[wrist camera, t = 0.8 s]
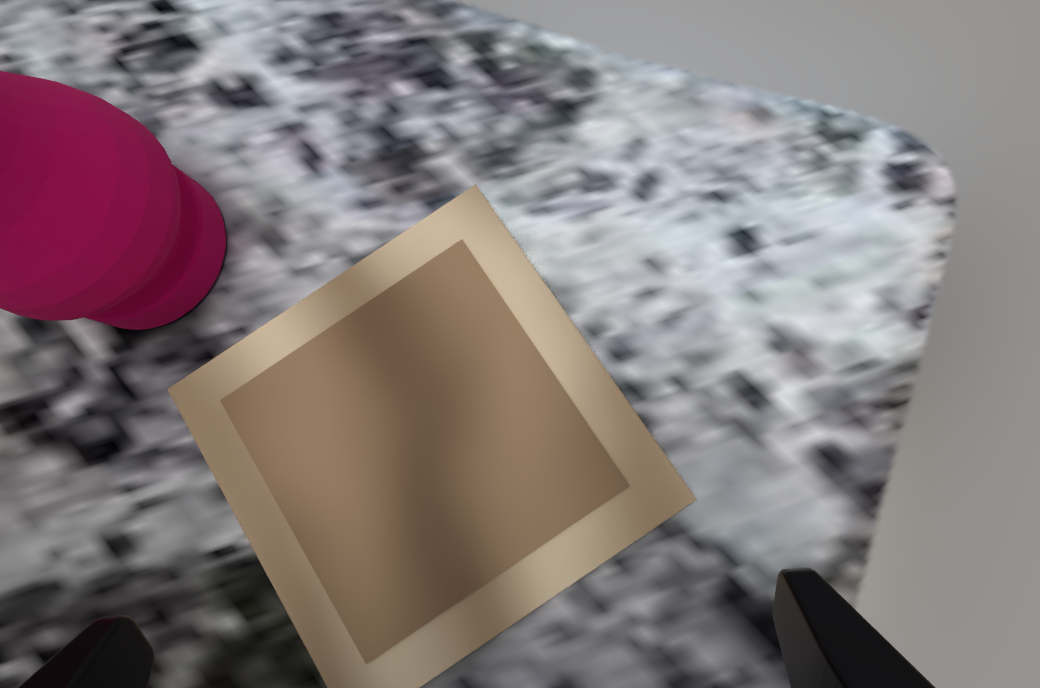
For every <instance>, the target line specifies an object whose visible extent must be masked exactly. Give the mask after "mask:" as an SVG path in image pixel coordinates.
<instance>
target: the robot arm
mask: <svg viewBox="0 0 1040 688" xmlns="http://www.w3.org/2000/svg"><path fill="white" fill-rule="evenodd" d="M773 618H774V624H775V628H776V632H777V635H778V639H779V643H780V647H781V651H782V655H783V658H784V662H785V666H786V670H787V674H788V678H789V681H790V685H791V688H935V687H934V686H933V685H932V684H931V683H930V682H929V681H928V680H927V679H926V678H925V677H924V676H923V675H922V674H921V673H920V672H919V671H918V670H917V669H916V668H915V667H914V666H913V665H911V664H910V663H909V662H908V661H907V660H906V659H905V658H904V657H903V656H902V655H901V654H900V653H899V652H898V651H897V650H896V649H895V648H894V647H893V646H892V645H891V644H890V643H889V642H888V641H887V640H886V639H885V638H884V637H883V636H882V635H880V633H879V632H878V631H877V630H876V629H874V628H873V627H872V626H871V625H870V624H869V623H868V622H867V621H866V620H865V619H864V618H863V617H862V616H861V615H860V614H859V613H858V612H857V611H856V610H855V609H854V608H853V607H852V606H851V605H850V604H849V603H848V602H847V601H846V600H845V599H844V598H843V597H842V596H841V595H840V594H838V593H837V592H836V591H835V590H834V589H833V588H832V587H831V586H830V585H829V584H828V583H827V582H826V581H825V580H824V579H823V578H822V577H821V576H820V575H819V574H818V573H817V572H816V571H814V570H812V569H810V568H793V569H783V570H781V571H780V573H779V575H778V579H777V585H776V591H775V597H774V603H773ZM153 664H154V652H153V648H152V646H151V645H150V643H149V642H148V640H147V639H146V637H145V636H144V634H143V633H142V632H141V630H140V629H139V627H138V626H137V624H136V623H135V621H134V620H133V619H132V618H131V617H129V616H109V617H102V618H99V619H97V620H95V621H93V622H92V623H91V624H90V625H88V626H87V627H86V628H85V629H84V630H83V631H82V632H81V633H79V634H78V635H77V636H76V637H75V638H74V639H73V640H71V641H70V642H69V643H68V644H67V645H66V646H65V647H64V648H62V649H61V650H60V651H59V652H58V653H57V654H56V655H55V656H53V657H52V658H51V659H50V660H49V661H48V662H47V663H46V664H44V665H43V666H42V667H41V668H40V669H39V670H38V671H37V672H35V673H34V674H33V675H32V676H31V677H30V678H29V679H28V680H26V681H25V682H24V683H23V684H22V685H21V686H20V687H18V688H148V684H149V680H150V677H151V673H152V669H153Z"/></svg>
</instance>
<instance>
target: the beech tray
mask: <svg viewBox="0 0 1040 688" xmlns="http://www.w3.org/2000/svg"><path fill="white" fill-rule="evenodd" d="M168 391H169V393H170V395H171V397H172V399H173V400H174V402H175V404H176V406H177V408H178V410H179V412H180V413H181V415H182V417H183V419H184V421H185V423H186V425H187V426H188V428H189V430H190V432H191V434H192V436H193V438H194V440H195V441H196V443H197V445H198V447H199V449H200V451H201V453H202V454H203V456H204V458H205V460H206V462H207V464H208V466H209V467H210V469H211V471H212V473H213V475H214V477H215V479H216V481H217V482H218V484H219V486H220V488H221V490H222V492H223V494H224V495H225V497H226V499H227V501H228V503H229V505H230V507H231V509H232V510H233V512H234V514H235V516H236V518H237V520H238V522H239V523H240V525H241V527H242V529H243V531H244V533H245V535H246V536H247V538H248V540H249V542H250V544H251V546H252V548H253V550H254V551H255V553H256V555H257V557H258V559H259V561H260V563H261V564H262V566H263V568H264V570H265V572H266V574H267V576H268V577H269V579H270V581H271V583H272V585H273V587H274V589H275V591H276V592H277V594H278V596H279V598H280V600H281V602H282V604H283V605H284V607H285V609H286V611H287V613H288V615H289V617H290V619H291V620H292V622H293V624H294V626H295V628H296V630H297V632H298V633H299V635H300V637H301V639H302V641H303V643H304V645H305V646H306V648H307V650H308V652H309V654H310V656H311V658H312V660H313V661H314V663H315V665H316V667H317V669H318V671H319V673H320V674H321V676H322V678H323V680H324V682H325V684H326V686H327V687H328V688H420V687H421V686H423V685H424V684H426V683H427V682H429V681H430V680H432V679H433V678H435V677H436V676H438V675H439V674H440V673H442V672H443V671H445V670H446V669H448V668H449V667H451V666H452V665H454V664H455V663H457V662H458V661H460V660H461V659H463V658H464V657H465V656H467V655H468V654H470V653H471V652H473V651H474V650H476V649H477V648H479V647H480V646H482V645H483V644H485V643H486V642H488V641H489V640H491V639H492V638H493V637H495V636H496V635H498V634H499V633H501V632H502V631H504V630H505V629H507V628H508V627H510V626H511V625H513V624H514V623H516V622H517V621H518V620H520V619H521V618H523V617H524V616H526V615H527V614H529V613H530V612H532V611H533V610H535V609H536V608H538V607H539V606H541V605H542V604H544V603H545V602H546V601H548V600H549V599H551V598H552V597H554V596H555V595H557V594H558V593H560V592H561V591H563V590H564V589H566V588H567V587H569V586H570V585H571V584H573V583H574V582H576V581H577V580H579V579H580V578H582V577H583V576H585V575H586V574H588V573H589V572H591V571H592V570H594V569H595V568H597V567H598V566H599V565H601V564H602V563H604V562H605V561H607V560H608V559H610V558H611V557H613V556H614V555H616V554H617V553H619V552H620V551H622V550H623V549H624V548H626V547H627V546H629V545H630V544H632V543H633V542H635V541H636V540H638V539H639V538H641V537H642V536H644V535H645V534H647V533H648V532H650V531H651V530H652V529H654V528H655V527H657V526H658V525H660V524H661V523H663V522H664V521H666V520H667V519H669V518H670V517H672V516H673V515H675V514H676V513H677V512H679V511H680V510H682V509H683V508H685V507H686V506H688V505H689V504H691V503H692V502H694V501H695V500H697V499H696V498H695V497H694V495H693V494H692V492H691V491H690V489H689V488H688V487H687V485H686V484H685V482H684V481H683V479H682V478H681V477H680V475H679V474H678V472H677V471H676V470H675V468H674V467H673V465H672V464H671V462H670V461H669V460H668V458H667V457H666V455H665V454H664V452H663V451H662V450H661V448H660V447H659V445H658V444H657V442H656V441H655V440H654V438H653V437H652V435H651V434H650V432H649V431H648V430H647V428H646V427H645V425H644V424H643V422H642V421H641V420H640V418H639V417H638V415H637V414H636V412H635V411H634V410H633V408H632V407H631V405H630V404H629V402H628V401H627V400H626V398H625V397H624V395H623V394H622V392H621V391H620V390H619V388H618V387H617V385H616V384H615V382H614V381H613V380H612V378H611V377H610V375H609V374H608V372H607V371H606V370H605V368H604V367H603V365H602V364H601V362H600V361H599V360H598V358H597V357H596V355H595V354H594V352H593V351H592V350H591V348H590V347H589V345H588V344H587V343H586V341H585V340H584V338H583V337H582V335H581V334H580V333H579V331H578V330H577V328H576V327H575V325H574V324H573V323H572V321H571V320H570V318H569V317H568V315H567V314H566V313H565V311H564V310H563V308H562V307H561V305H560V304H559V303H558V301H557V300H556V298H555V297H554V295H553V294H552V293H551V291H550V290H549V288H548V287H547V285H546V284H545V283H544V281H543V280H542V278H541V277H540V275H539V274H538V273H537V271H536V270H535V268H534V267H533V265H532V264H531V263H530V261H529V260H528V258H527V257H526V255H525V254H524V253H523V251H522V250H521V248H520V247H519V245H518V244H517V243H516V241H515V240H514V238H513V237H512V235H511V234H510V233H509V231H508V230H507V228H506V227H505V225H504V224H503V223H502V221H501V220H500V218H499V217H498V215H497V214H496V213H495V211H494V210H493V208H492V207H491V206H490V204H489V203H488V201H487V200H486V198H485V197H484V196H483V194H482V193H481V191H480V190H479V188H478V187H477V186H476V185H474V186H473V187H471V188H470V189H468V190H467V191H465V192H464V193H462V194H461V195H459V196H458V197H456V198H454V199H453V200H451V201H450V202H448V203H447V204H445V205H444V206H442V207H441V208H439V209H438V210H436V211H435V212H433V213H432V214H430V215H429V216H427V217H426V218H424V219H423V220H421V221H420V222H418V223H417V224H415V225H414V226H412V227H411V228H409V229H408V230H406V231H405V232H403V233H402V234H400V235H399V236H397V237H396V238H394V239H393V240H391V241H390V242H388V243H387V244H385V245H384V246H382V247H381V248H379V249H378V250H376V251H375V252H373V253H372V254H370V255H369V256H367V257H366V258H364V259H363V260H361V261H360V262H358V263H357V264H355V265H354V266H352V267H351V268H349V269H348V270H346V271H345V272H343V273H342V274H340V275H339V276H337V277H336V278H334V279H333V280H331V281H330V282H328V283H327V284H325V285H324V286H322V287H321V288H319V289H318V290H316V291H315V292H313V293H312V294H310V295H309V296H307V297H306V298H304V299H303V300H301V301H300V302H298V303H297V304H295V305H294V306H292V307H291V308H289V309H288V310H286V311H285V312H283V313H282V314H280V315H278V316H277V317H275V318H274V319H272V320H271V321H269V322H268V323H266V324H265V325H263V326H262V327H260V328H259V329H257V330H256V331H254V332H253V333H251V334H250V335H248V336H247V337H245V338H244V339H242V340H241V341H239V342H238V343H236V344H235V345H233V346H232V347H230V348H229V349H227V350H226V351H224V352H223V353H221V354H220V355H218V356H217V357H215V358H214V359H212V360H211V361H209V362H208V363H206V364H205V365H203V366H202V367H200V368H199V369H197V370H196V371H194V372H193V373H191V374H190V375H188V376H187V377H185V378H184V379H182V380H181V381H179V382H178V383H176V384H175V385H173V386H172V387H170V388H169V389H168Z"/></svg>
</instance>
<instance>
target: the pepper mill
mask: <svg viewBox="0 0 1040 688" xmlns="http://www.w3.org/2000/svg"><path fill="white" fill-rule="evenodd" d="M225 250H226V233H225V225H224V220H223V217H222V215H221V212H220V209H219V207H218V206H217V204H216V202H215V200H214V199H213V197H212V196H211V195H210V194H209V193H208V192H207V191H206V190H205V189H204V188H203V187H202V186H201V185H200V184H199V183H197V182H196V181H195V180H193V179H192V178H190V177H189V176H188V175H186V174H185V173H183V172H182V171H181V170H179V169H178V168H176V167H175V166H174V165H172V163H171V161H170V159H169V157H168V155H167V153H166V151H165V149H164V148H163V146H162V145H161V144H160V142H159V141H158V140H157V139H156V137H155V136H154V135H153V134H152V133H151V132H150V131H149V130H148V129H147V128H146V127H145V126H144V125H142V124H141V123H140V122H138V121H137V120H136V119H134V118H133V117H131V116H130V115H128V114H127V113H125V112H123V111H122V110H120V109H118V108H117V107H115V106H113V105H112V104H110V103H108V102H106V101H105V100H103V99H101V98H99V97H97V96H94V95H92V94H89V93H87V92H84V91H81V90H78V89H75V88H73V87H70V86H67V85H64V84H61V83H59V82H55V81H50V80H46V79H41V78H36V77H30V76H25V75H19V74H13V73H8V72H2V71H0V308H1V309H4V310H6V311H9V312H12V313H15V314H17V315H21V316H25V317H29V318H33V319H40V320H50V321H53V320H73V319H78V318H83V317H85V318H88V319H91V320H95V321H98V322H102V323H105V324H108V325H112V326H115V327H119V328H124V329H131V330H142V329H150V328H155V327H159V326H162V325H165V324H167V323H170V322H172V321H174V320H177V319H178V318H180V317H181V316H183V315H184V314H185V313H187V312H188V311H190V310H191V309H193V308H194V307H195V306H196V305H197V304H198V303H199V302H200V301H201V300H202V299H203V298H204V297H205V296H206V294H207V293H208V291H209V290H210V288H211V287H212V285H213V283H214V282H215V280H216V278H217V276H218V275H219V273H220V270H221V266H222V262H223V258H224V254H225Z"/></svg>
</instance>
